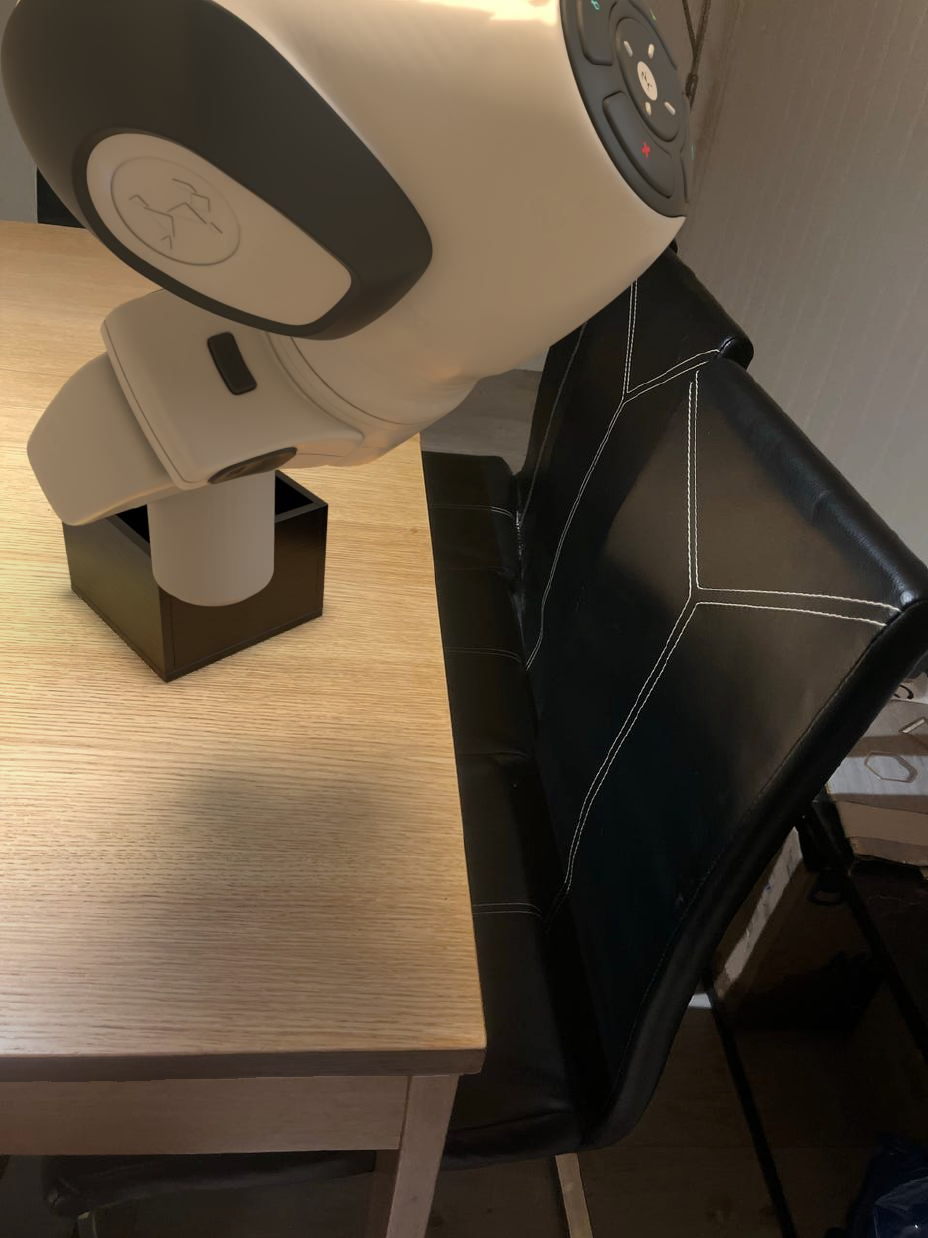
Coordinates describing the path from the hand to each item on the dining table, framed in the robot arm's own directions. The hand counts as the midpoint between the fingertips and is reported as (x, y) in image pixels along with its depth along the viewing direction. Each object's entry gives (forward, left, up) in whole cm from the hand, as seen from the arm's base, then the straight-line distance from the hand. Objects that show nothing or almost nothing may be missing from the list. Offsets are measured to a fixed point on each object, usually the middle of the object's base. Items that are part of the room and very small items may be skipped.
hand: (203, 469), depth 46 cm
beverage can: (0, -1, -7) cm, 7 cm away
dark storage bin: (+10, +18, -23) cm, 31 cm away
